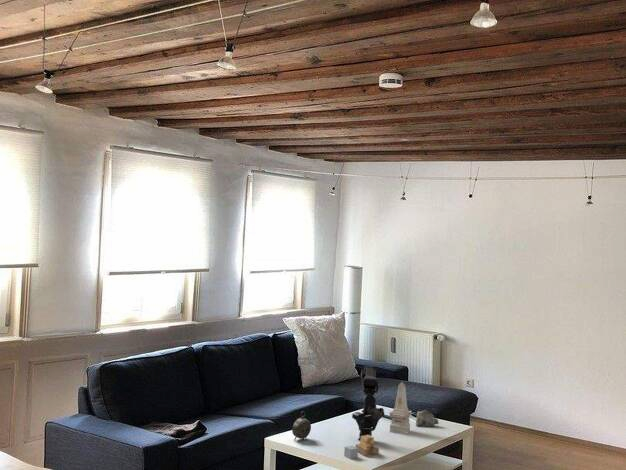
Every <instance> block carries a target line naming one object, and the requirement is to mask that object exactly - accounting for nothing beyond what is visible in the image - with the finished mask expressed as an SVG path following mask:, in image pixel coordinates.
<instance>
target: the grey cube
mask: <svg viewBox="0 0 626 470" xmlns="http://www.w3.org/2000/svg"><path fill="white" fill-rule="evenodd" d="M343 451H344V453H343V454H344V455H343V457H346V458H347V459H350V460H352V459H357V458H358V457H359V453H358V448H357V447H355V445H347V446H344V450H343Z"/></svg>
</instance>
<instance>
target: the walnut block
mask: <svg viewBox="0 0 626 470" xmlns="http://www.w3.org/2000/svg"><path fill="white" fill-rule="evenodd" d="M354 447H357V448H358V455H362V456H363V457H370V456H375V455H379V453H380V452H379V451H380V447H378V446H377V445H374V444H373V447H369V448H365V447H363V446H361V445H360V443H357V444H355V445H354Z"/></svg>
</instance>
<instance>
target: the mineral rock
mask: <svg viewBox="0 0 626 470" xmlns="http://www.w3.org/2000/svg"><path fill="white" fill-rule="evenodd" d="M439 423H440V422H439V419H438V418H435V417H434V414H433V413H431V412H429V411H428V410H426V409H424V410H422V411H420V410H418V411H417V412H416V420H415V426H416V427H431V426H435V425H439Z"/></svg>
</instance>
